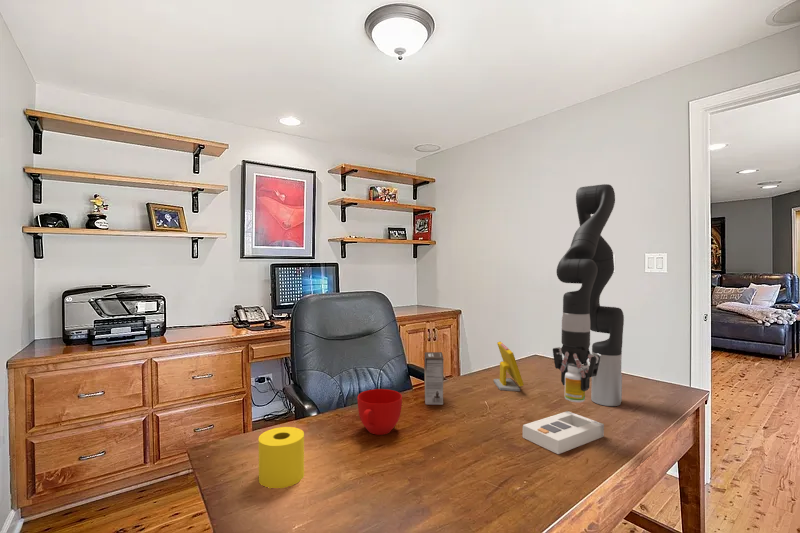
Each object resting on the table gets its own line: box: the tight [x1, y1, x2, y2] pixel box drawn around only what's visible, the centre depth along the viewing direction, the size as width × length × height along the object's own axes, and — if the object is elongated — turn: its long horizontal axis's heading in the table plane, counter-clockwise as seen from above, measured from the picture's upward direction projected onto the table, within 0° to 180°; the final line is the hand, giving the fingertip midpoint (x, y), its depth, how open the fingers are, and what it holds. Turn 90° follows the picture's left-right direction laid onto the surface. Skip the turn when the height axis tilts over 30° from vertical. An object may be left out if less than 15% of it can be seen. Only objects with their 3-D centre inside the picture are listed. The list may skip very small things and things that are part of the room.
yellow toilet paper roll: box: [258, 426, 305, 489], centre depth 95 cm, size 10×10×9 cm
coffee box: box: [424, 351, 445, 406], centre depth 146 cm, size 9×6×16 cm
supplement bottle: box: [564, 364, 586, 403], centre depth 119 cm, size 5×5×10 cm
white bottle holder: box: [522, 410, 605, 455], centre depth 116 cm, size 20×12×4 cm, turn 122°
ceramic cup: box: [357, 388, 403, 436], centre depth 119 cm, size 13×17×10 cm
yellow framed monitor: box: [493, 341, 524, 392], centre depth 162 cm, size 20×8×16 cm, turn 179°
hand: (574, 387), depth 119 cm, fingers closed on supplement bottle, 5 cm apart
